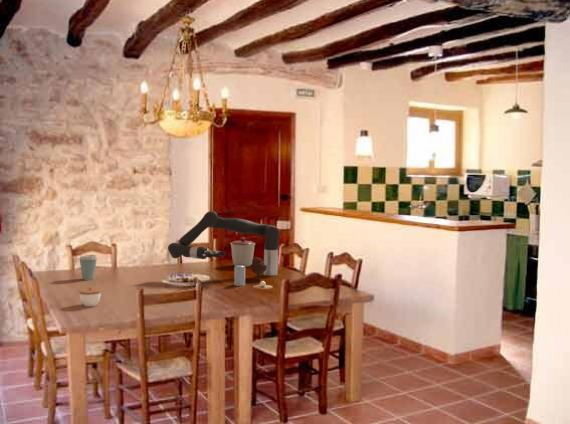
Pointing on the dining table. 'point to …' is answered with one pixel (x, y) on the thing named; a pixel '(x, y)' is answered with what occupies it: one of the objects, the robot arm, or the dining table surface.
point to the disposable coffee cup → (88, 266)
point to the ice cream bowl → (258, 267)
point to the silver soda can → (239, 275)
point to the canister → (242, 252)
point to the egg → (262, 283)
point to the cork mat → (262, 287)
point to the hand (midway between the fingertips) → (222, 254)
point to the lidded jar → (90, 296)
